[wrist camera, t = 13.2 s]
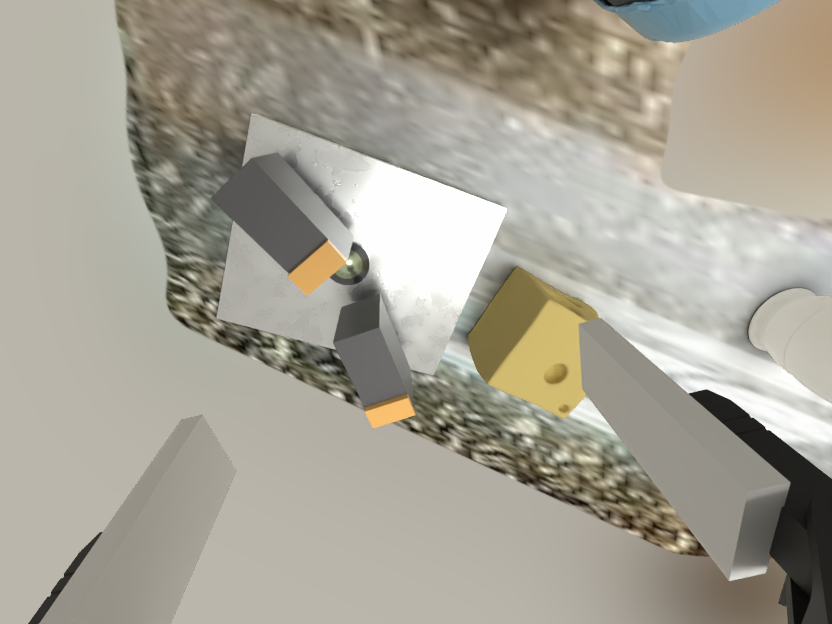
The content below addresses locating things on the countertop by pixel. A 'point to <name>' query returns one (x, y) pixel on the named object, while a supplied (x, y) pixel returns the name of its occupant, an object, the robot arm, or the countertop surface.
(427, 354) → the level plate
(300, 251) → the knob
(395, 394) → the orange-capped gray block
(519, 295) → the cheese
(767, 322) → the jar
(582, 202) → the countertop surface
